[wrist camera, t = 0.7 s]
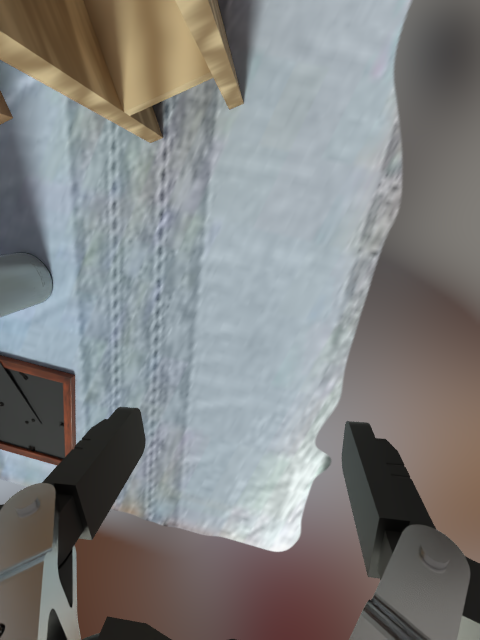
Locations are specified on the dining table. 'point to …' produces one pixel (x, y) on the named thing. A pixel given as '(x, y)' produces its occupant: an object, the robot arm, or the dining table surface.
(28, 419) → the picture frame
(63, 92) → the rack
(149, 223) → the dining table surface
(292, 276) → the dining table surface
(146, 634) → the robot arm
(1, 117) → the block
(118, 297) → the dining table surface
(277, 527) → the dining table surface
